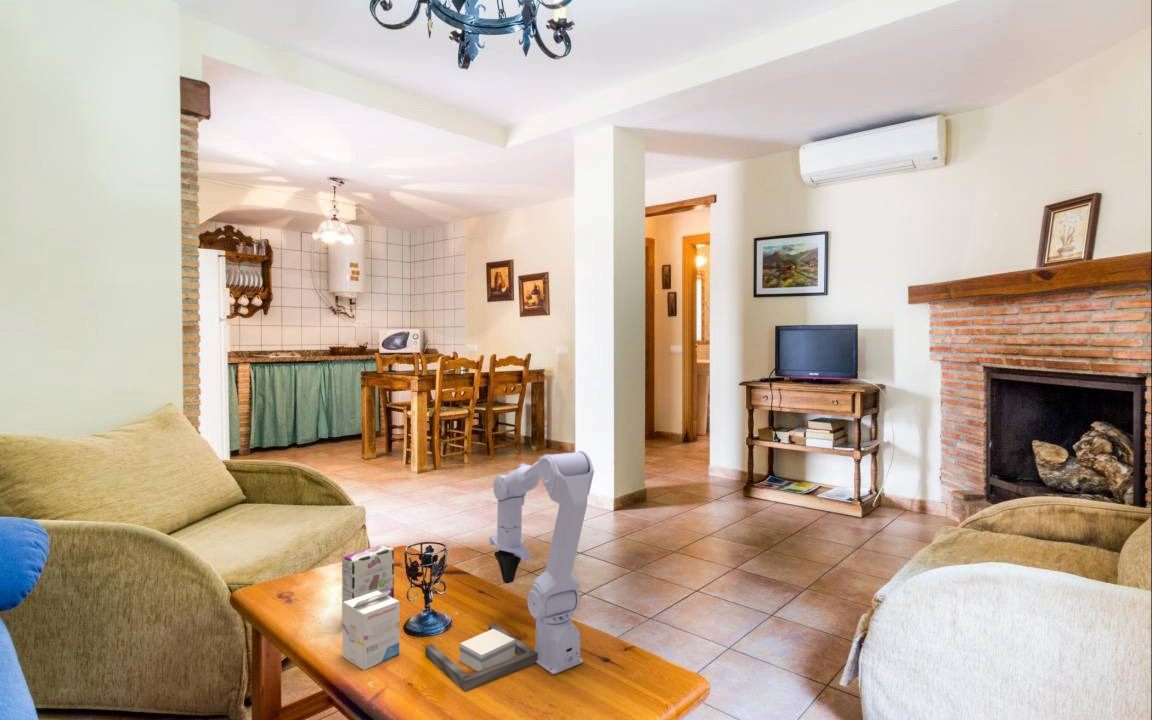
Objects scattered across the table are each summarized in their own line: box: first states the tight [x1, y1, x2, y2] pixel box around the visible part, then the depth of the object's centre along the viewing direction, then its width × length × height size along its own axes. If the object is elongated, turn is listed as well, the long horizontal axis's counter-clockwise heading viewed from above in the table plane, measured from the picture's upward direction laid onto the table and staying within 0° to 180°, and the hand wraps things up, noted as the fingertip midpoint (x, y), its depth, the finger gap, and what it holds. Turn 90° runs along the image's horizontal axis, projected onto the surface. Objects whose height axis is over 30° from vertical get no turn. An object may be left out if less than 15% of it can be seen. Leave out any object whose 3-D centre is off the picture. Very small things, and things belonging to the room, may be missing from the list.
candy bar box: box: [341, 544, 395, 624], centre depth 143 cm, size 11×5×16 cm, turn 143°
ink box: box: [342, 590, 401, 671], centre depth 127 cm, size 9×8×13 cm
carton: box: [459, 629, 516, 672], centre depth 127 cm, size 7×9×4 cm
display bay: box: [424, 623, 538, 692], centre depth 127 cm, size 17×17×2 cm
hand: (508, 581), depth 144 cm, fingers closed
